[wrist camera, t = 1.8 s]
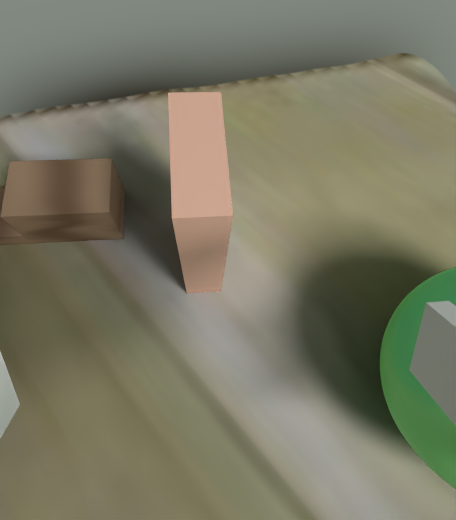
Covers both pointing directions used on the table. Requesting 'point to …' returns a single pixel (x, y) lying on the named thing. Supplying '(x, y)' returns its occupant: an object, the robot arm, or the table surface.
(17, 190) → the walnut crossbar
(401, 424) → the toy bird
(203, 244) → the tall pink slab box
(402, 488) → the table surface
